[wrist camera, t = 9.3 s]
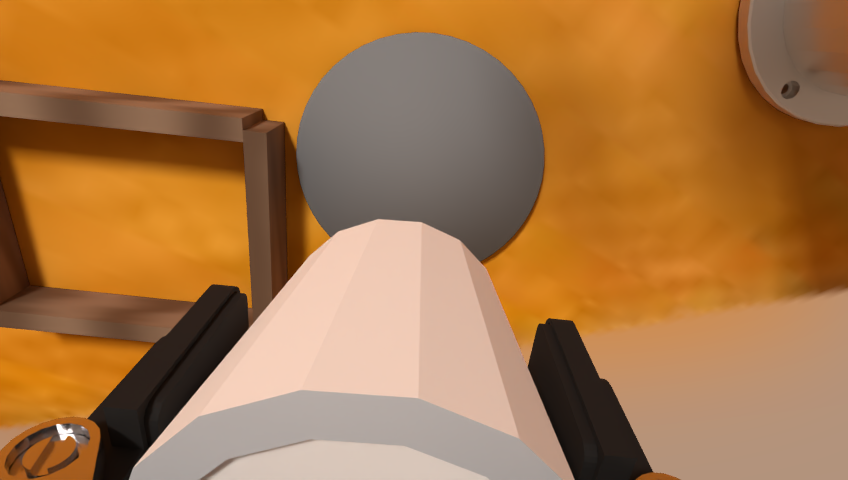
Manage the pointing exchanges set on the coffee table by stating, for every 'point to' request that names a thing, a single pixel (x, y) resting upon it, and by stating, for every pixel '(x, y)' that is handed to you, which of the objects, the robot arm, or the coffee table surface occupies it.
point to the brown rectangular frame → (262, 140)
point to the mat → (422, 141)
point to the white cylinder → (369, 376)
